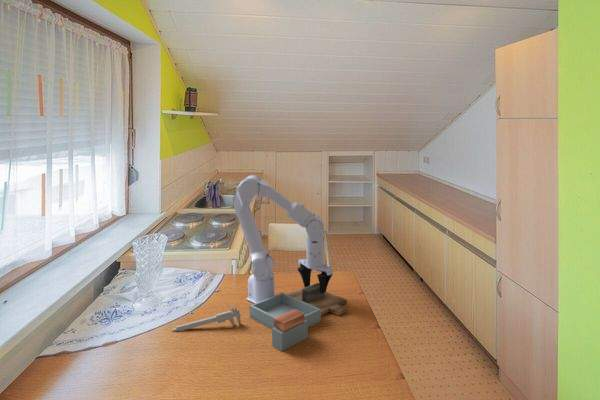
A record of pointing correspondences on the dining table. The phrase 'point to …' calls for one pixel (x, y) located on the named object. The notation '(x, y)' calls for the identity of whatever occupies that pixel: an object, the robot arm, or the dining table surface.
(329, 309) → the lid
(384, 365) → the dining table surface
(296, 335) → the blue grey tray
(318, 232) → the robot arm
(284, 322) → the salmon pink block
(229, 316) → the caliper
